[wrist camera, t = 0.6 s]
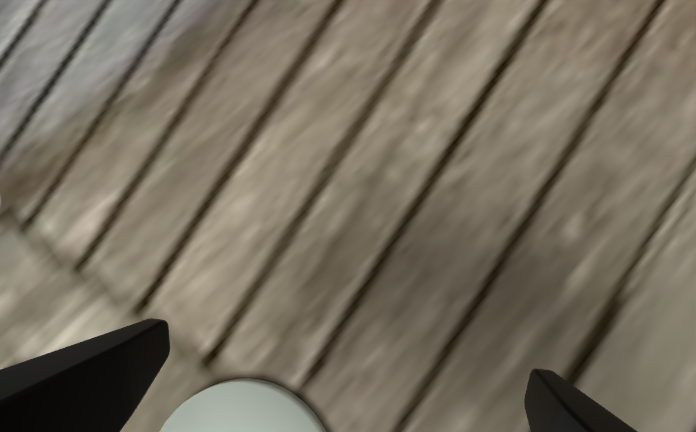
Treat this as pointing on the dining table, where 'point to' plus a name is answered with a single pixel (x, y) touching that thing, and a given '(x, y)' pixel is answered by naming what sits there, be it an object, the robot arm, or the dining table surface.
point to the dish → (243, 410)
